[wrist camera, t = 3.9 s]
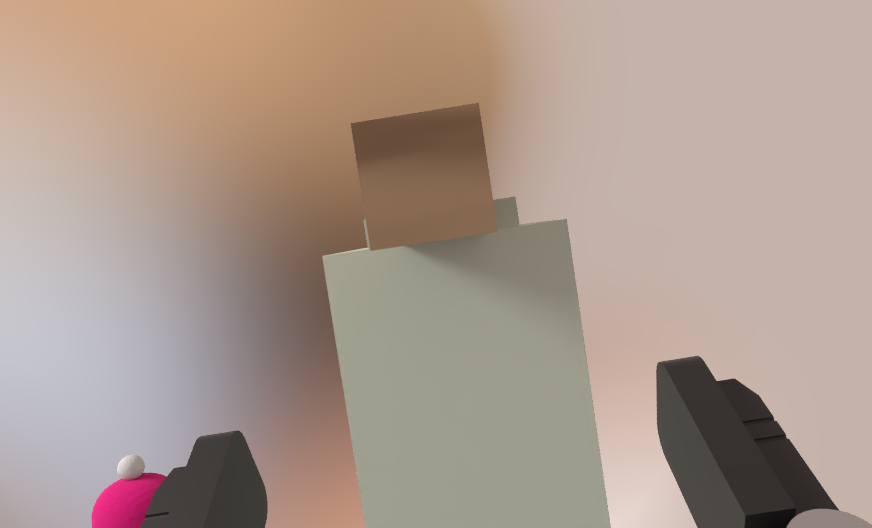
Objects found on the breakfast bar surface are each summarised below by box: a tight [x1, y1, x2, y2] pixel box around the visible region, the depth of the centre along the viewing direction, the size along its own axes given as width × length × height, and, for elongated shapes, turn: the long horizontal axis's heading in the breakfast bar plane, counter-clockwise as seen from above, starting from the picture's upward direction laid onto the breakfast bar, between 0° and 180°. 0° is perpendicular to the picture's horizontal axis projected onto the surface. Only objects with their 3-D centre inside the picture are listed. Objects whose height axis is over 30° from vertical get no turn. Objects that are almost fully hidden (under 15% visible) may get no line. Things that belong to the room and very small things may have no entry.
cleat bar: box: [351, 103, 498, 251], centre depth 30 cm, size 23×4×4 cm, turn 178°
